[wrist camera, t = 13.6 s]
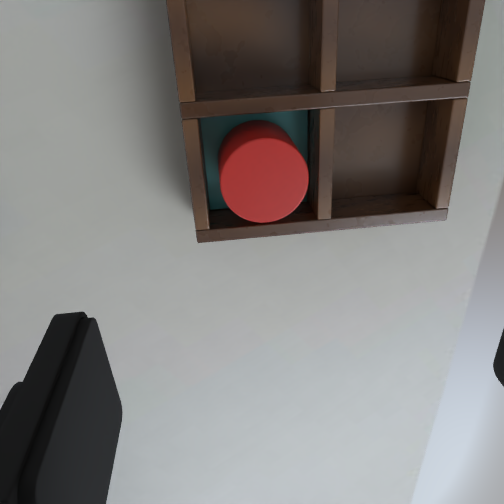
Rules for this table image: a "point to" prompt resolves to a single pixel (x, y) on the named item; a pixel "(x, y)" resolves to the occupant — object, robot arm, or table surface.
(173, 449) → the table surface
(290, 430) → the table surface
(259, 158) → the red cylinder
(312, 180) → the grid
